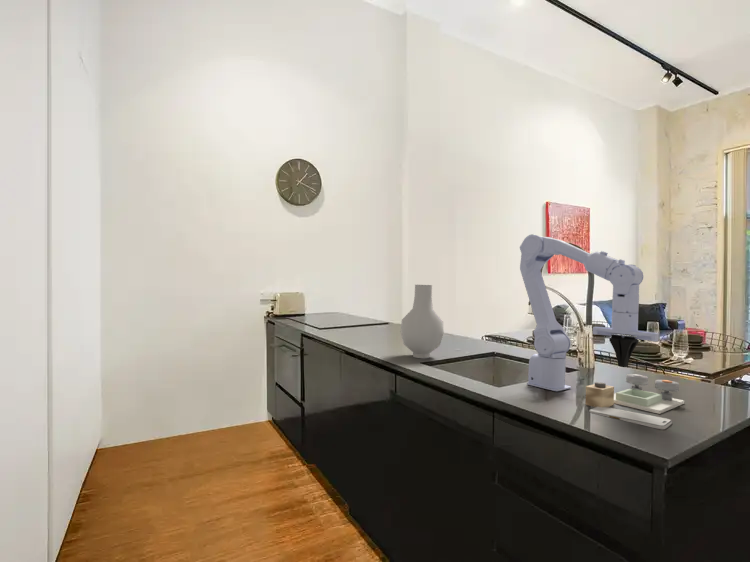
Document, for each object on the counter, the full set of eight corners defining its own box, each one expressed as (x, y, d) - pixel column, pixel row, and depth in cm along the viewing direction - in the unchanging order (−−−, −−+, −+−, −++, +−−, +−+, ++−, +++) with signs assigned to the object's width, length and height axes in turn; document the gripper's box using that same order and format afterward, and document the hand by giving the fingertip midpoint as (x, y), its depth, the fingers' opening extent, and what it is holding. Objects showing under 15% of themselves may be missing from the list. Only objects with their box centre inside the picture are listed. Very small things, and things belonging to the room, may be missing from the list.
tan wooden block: (585, 404, 103) (586, 383, 103) (597, 401, 107) (597, 380, 107) (602, 409, 100) (602, 386, 100) (613, 405, 104) (614, 383, 104)
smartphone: (599, 405, 102) (673, 419, 91) (599, 409, 102) (673, 424, 91) (587, 410, 97) (663, 426, 86) (587, 415, 97) (663, 432, 86)
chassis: (601, 400, 108) (602, 378, 108) (628, 391, 117) (629, 371, 117) (659, 413, 97) (660, 389, 97) (684, 403, 107) (684, 381, 107)
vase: (424, 352, 175) (426, 284, 175) (451, 358, 161) (454, 285, 161) (391, 354, 165) (393, 283, 165) (418, 362, 152) (420, 284, 152)
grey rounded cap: (651, 392, 108) (652, 380, 108) (659, 389, 111) (659, 377, 111) (674, 396, 104) (674, 384, 104) (681, 393, 107) (682, 381, 107)
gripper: (664, 314, 102) (662, 370, 102) (602, 309, 113) (600, 360, 113) (653, 315, 98) (651, 373, 98) (589, 310, 109) (587, 362, 109)
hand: (623, 366), depth 105 cm, fingers closed
